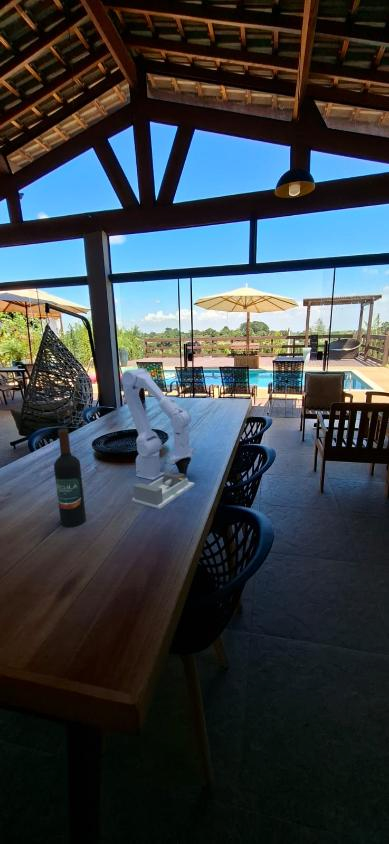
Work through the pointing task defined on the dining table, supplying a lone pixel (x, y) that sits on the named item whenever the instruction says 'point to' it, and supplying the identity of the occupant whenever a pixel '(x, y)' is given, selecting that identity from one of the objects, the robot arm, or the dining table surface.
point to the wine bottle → (69, 484)
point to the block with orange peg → (172, 478)
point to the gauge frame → (159, 492)
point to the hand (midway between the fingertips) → (182, 475)
